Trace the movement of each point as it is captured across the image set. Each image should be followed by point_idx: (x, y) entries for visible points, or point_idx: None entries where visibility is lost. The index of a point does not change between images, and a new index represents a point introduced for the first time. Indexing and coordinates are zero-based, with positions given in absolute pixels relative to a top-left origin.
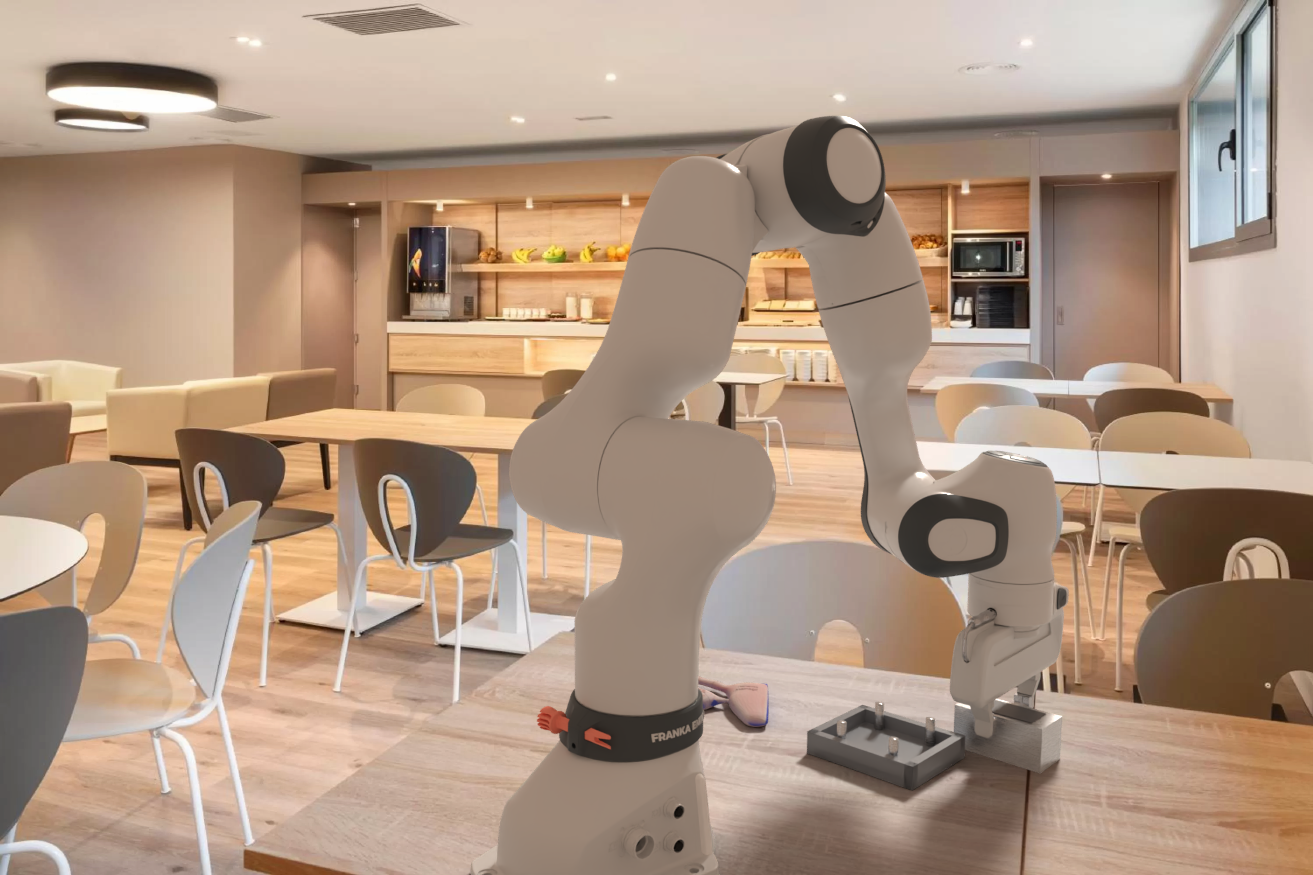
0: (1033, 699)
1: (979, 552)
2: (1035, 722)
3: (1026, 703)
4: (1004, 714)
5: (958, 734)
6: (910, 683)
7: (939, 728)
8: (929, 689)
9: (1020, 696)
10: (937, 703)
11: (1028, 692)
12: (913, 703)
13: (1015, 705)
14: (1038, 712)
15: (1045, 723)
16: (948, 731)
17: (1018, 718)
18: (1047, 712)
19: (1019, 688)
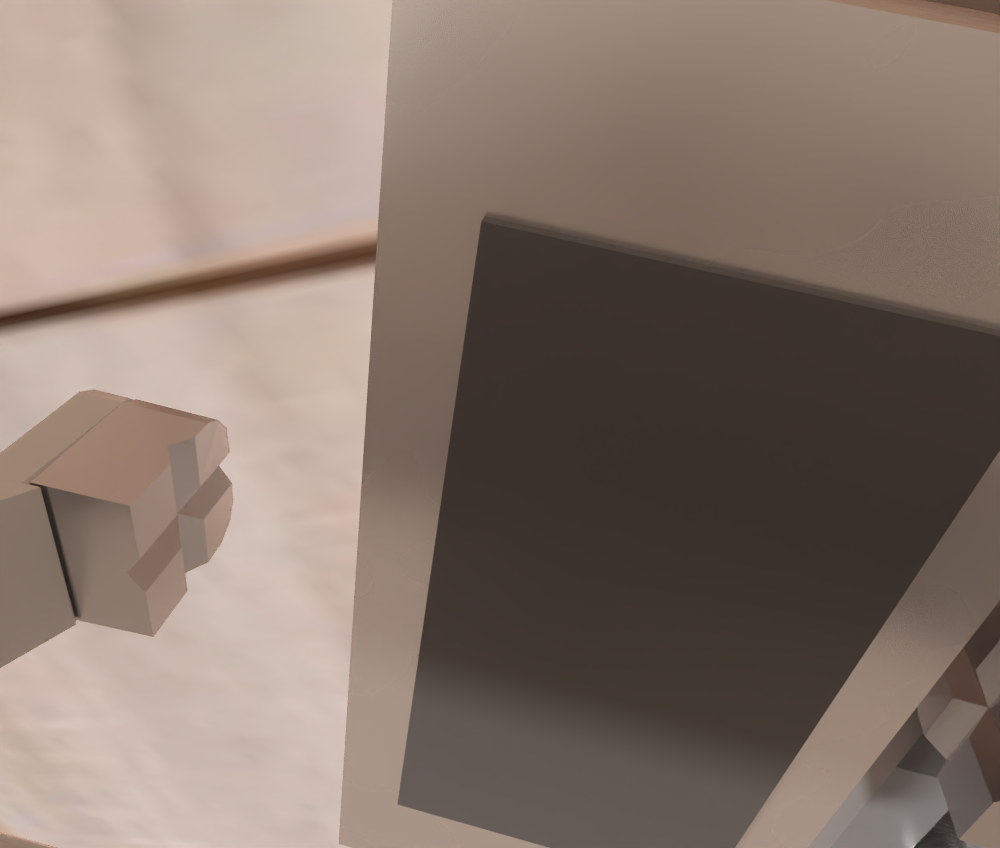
0: (42, 442)
1: None
2: (984, 293)
3: (173, 480)
4: (826, 667)
5: (927, 758)
6: (80, 825)
7: (845, 841)
8: (71, 773)
9: (146, 578)
10: (189, 743)
11: (19, 541)
12: (271, 811)
13: (437, 593)
14: (507, 328)
15: (963, 125)
16: (889, 805)
17: (917, 527)
18: (383, 210)
19: (23, 633)
